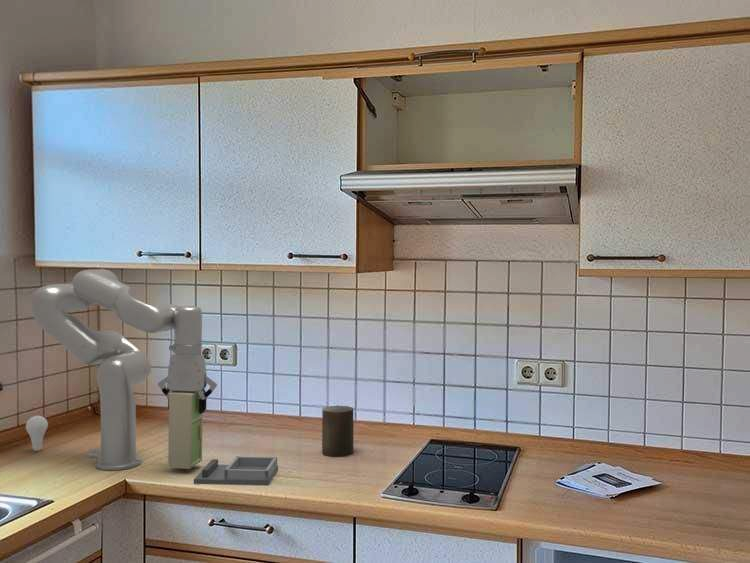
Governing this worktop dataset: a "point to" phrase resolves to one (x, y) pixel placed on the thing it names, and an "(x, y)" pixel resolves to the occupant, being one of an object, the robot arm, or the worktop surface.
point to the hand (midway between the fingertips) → (187, 411)
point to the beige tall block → (184, 430)
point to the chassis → (239, 471)
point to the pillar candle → (337, 431)
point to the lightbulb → (36, 430)
